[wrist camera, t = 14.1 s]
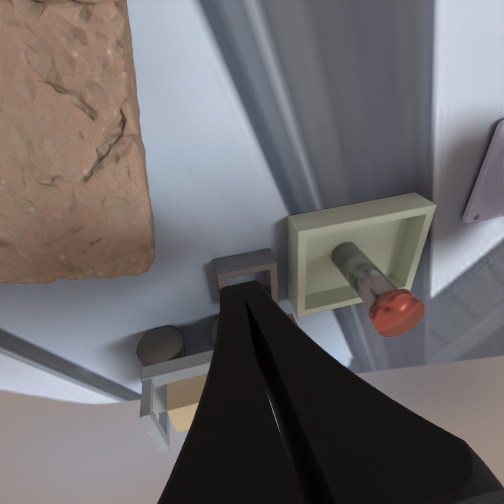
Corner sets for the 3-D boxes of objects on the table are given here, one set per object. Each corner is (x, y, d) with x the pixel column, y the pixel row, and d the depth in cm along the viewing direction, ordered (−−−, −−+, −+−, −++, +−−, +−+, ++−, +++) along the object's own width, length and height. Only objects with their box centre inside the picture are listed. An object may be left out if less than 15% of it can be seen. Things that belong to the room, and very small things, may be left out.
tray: (415, 192, 22) (436, 204, 20) (393, 274, 27) (409, 290, 25) (287, 216, 21) (298, 231, 19) (288, 298, 25) (297, 317, 23)
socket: (269, 248, 22) (276, 262, 20) (272, 290, 24) (278, 305, 23) (213, 259, 21) (216, 274, 20) (221, 301, 24) (225, 317, 22)
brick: (159, 240, 20) (157, 285, 16) (15, 247, 18) (-27, 300, 14) (118, -146, 11) (90, -254, 7) (-182, -217, 9) (-445, -420, 5)
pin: (364, 233, 22) (430, 295, 17) (359, 264, 24) (417, 330, 18) (327, 241, 22) (382, 306, 16) (324, 272, 24) (373, 341, 18)
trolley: (248, 307, 25) (271, 381, 19) (253, 346, 28) (274, 420, 22) (138, 331, 23) (128, 419, 18) (156, 369, 26) (152, 454, 21)
